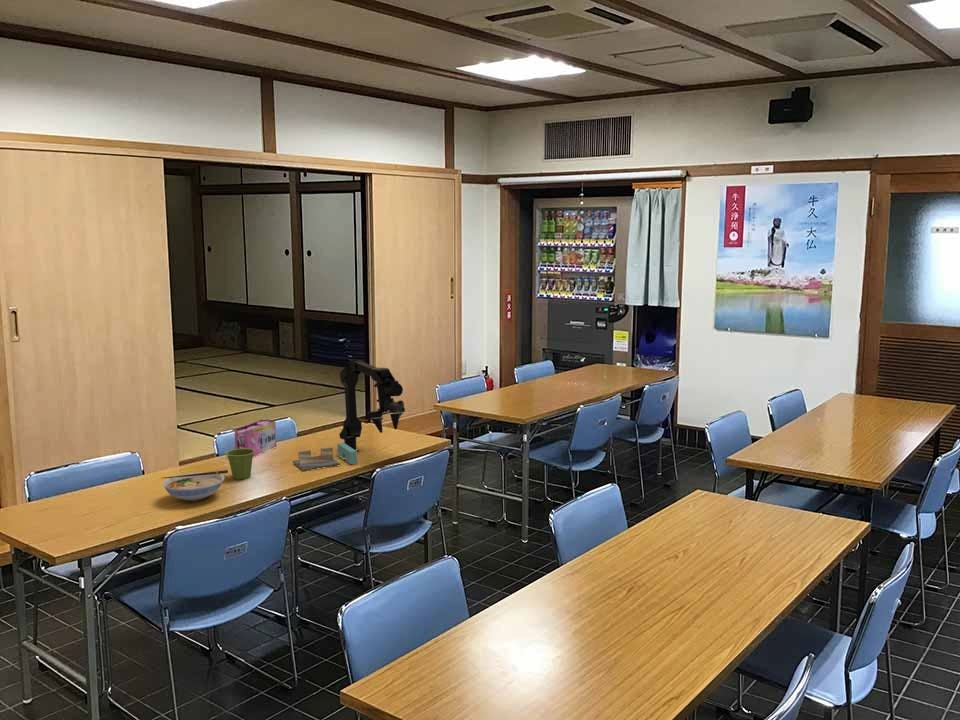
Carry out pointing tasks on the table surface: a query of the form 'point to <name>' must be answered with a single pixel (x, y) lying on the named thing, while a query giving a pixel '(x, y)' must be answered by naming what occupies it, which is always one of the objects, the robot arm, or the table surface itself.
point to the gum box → (256, 436)
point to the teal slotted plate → (347, 453)
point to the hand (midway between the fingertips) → (388, 431)
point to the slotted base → (316, 465)
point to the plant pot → (240, 462)
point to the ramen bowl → (194, 485)
